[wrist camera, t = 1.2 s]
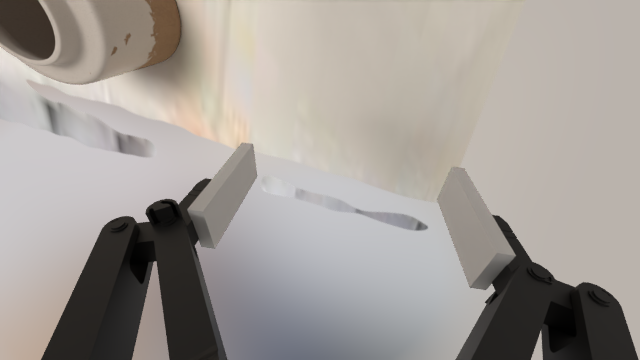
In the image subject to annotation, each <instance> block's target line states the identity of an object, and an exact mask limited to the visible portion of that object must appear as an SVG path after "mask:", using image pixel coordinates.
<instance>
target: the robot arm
mask: <svg viewBox="0 0 640 360" xmlns="http://www.w3.org/2000/svg"><path fill="white" fill-rule="evenodd" d="M256 178H257V171H256V163H255V155H254V147H253V144H250V143H241V145H240V146H239V147H238V148H237V150H236V151H235V152H234V153H233V154H232V156H231V157H230V158H229V159H228V160H227V162H226V163H225V164H224V165H223V167H222V168H221V169H220V170H219V172H218V173H217V174H216V175H215V176H214V178H213V179H204V180H202V181H200V182H199V183H197V184H196V185H195V187H194V188H193V189H192V190H191V191H190V192H189V193H188V195H187V196H186V197H185V198H184V199H183V200H182V201H181V202H180V204H179V205H178V204H177V202H176V201H175V200H172V199H164V200H160V201H157V202H154V203H153V204H152V205H150V206H149V207H148V208H147V209H146V215H147V217H148V219H149V221H150V222H143V223H137V222H136V221H135V219H134V218H133V217H129V216H124V217H119V218H116V219H114V220H112V221H110V222H108V223H107V224H106V225H105V226H104V227H103V228H102V230H101V232H100V235H99V237H98V239H97V241H96V243H95V245H94V247H93V250H92V252H91V254H90V256H89V258H88V260H87V262H86V265H85V267H84V269H83V271H82V273H81V275H80V277H79V279H78V282H77V284H76V286H75V288H74V290H73V292H72V295H71V297H70V299H69V301H68V303H67V305H66V308H65V310H64V312H63V314H62V316H61V318H60V320H59V323H58V325H57V327H56V329H55V331H54V333H53V336H52V338H51V340H50V342H49V344H48V346H47V348H46V350H45V352H44V355H43V357H42V359H41V360H132V356H133V351H134V346H135V342H136V338H137V334H138V329H139V325H140V320H141V315H142V311H143V307H144V302H145V297H146V293H147V289H148V284H149V280H150V275H151V271H152V266H153V262H154V261H157V267H158V275H159V283H160V290H161V298H162V305H163V313H164V321H165V328H166V335H167V343H168V350H169V358H170V360H227V357H226V353H225V350H224V346H223V343H222V340H221V336H220V332H219V329H218V325H217V322H216V318H215V315H214V311H213V308H212V304H211V300H210V297H209V293H208V290H207V286H206V283H205V280H204V276H203V272H202V269H201V265H200V262H199V258H198V255H197V251H196V248H195V244H196V243H197V241H198V240H199V241H200V244H201V246H202V247H207V248H214V249H215V247H216V246H217V244H218V243H219V241H220V239H221V237H222V236H223V234H224V232H225V231H226V229H227V227H228V226H229V223H230V222H231V220H232V219H233V217H234V215H235V213H236V212H237V210H238V208H239V207H240V205H241V203H242V202H243V200H244V198H245V196H246V195H247V193H248V191H249V189H250V188H251V186H252V184H253V183H254V181H255V179H256ZM437 200H438V203H439V206H440V209H441V211H442V214H443V217H444V219H445V222H446V225H447V227H448V230H449V233H450V235H451V238H452V241H453V244H454V246H455V248H456V252H457V254H458V257H459V260H460V262H461V265H462V267H463V271H464V273H465V276H466V278H467V281H468V284H469V287H470V288H476V289H483V290H486V289H487V288H488V287H489V286H490V285H491V284H493V286H494V288H495V292H494V293H493V294H492V295H491V296H490V297H489V298H488V299H487V301H486V302H485V303H486V304H487V305H486V306H485V308H484V310H483V312H482V313H481V315H480V317H479V319H478V321H477V323H476V324H475V326H474V328H473V330H472V332H471V333H470V335H469V337H468V339H467V340H466V342H465V344H464V346H463V347H462V349H461V351H460V353H459V355H458V356H457V358H456V360H531V357H532V354H533V351H534V348H535V346H536V343H537V340H538V337H539V334H540V331H541V332H542V349H543V360H638V357H637V354H636V351H635V347H634V344H633V342H632V338H631V335H630V332H629V329H628V326H627V323H626V320H625V317H624V313H623V311H622V308H621V306H620V304H619V302H618V301H617V300H616V299H615V298H614V297H613V295H611V294H610V293H609V292H607V291H606V290H605V289H603V288H601V287H599V286H597V285H594V284H591V283H584V282H583V283H581V284H579V285H578V286H577V287H573V286H570V285H568V284H565V283H562V282H560V281H557V280H555V279H554V277H553V275H552V274H551V273H550V272H549V271H548V270H547V269H545V268H544V267H542V266H541V265H539V264H536V263H534V262H532V261H531V259H530V258H529V256H528V254H527V253H526V251H525V250H524V248H523V247H522V245H521V244H520V242H519V241H518V239H517V237H516V236H515V234H514V233H513V231H512V230H511V228H510V226H509V225H508V223H507V222H505V221H504V220H503V219H502V218H501V217H500V216H495V215H492V214H491V213H490V211H489V210H488V208H487V206H486V204H485V203H484V201H483V199H482V198H481V196H480V194H479V193H478V191H477V189H476V188H475V186H474V184H473V182H472V181H471V179H470V177H469V176H468V174H467V172H466V171H465V169H464V168H456V167H452V168H451V170H450V172H449V174H448V176H447V179H446V181H445V183H444V185H443V187H442V190H441V192H440V194H439V196H438V198H437Z"/></svg>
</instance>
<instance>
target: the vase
mask: <svg viewBox="0 0 640 360" xmlns="http://www.w3.org/2000/svg"><path fill="white" fill-rule="evenodd" d="M180 32H181V26H180V17H179V12H178V9H177V5H176V2H175V0H0V47H1V48H3V49H4V50H6V51H7V52H8V53H10V54H12V55H13V56H15V57H17V58H18V59H19V60H21V61H22V62H23V63H25V64H26V65H28V66H29V67H31V68H32V69H34V70H35V71H37V72H39V73H41V74H43V75H45V76H47V77H49V78H51V79H54V80H56V81H59V82H63V83H67V84H75V85H83V84H89V83H94V82H97V81H101V80H104V79H107V78H111V77H114V76H117V75H121V74H124V73H127V72H131V71H134V70H137V69H140V68H144V67H147V66H150V65H154V64H157V63H160V62H162V61H164V60H166V59H168V58H169V57H170V56H171V55H172V54H173V53H174V52H175V50H176V48H177V46H178V43H179V40H180Z"/></svg>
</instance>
